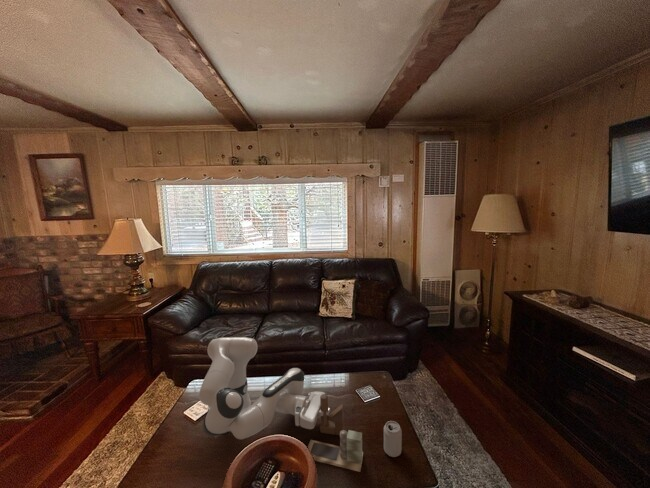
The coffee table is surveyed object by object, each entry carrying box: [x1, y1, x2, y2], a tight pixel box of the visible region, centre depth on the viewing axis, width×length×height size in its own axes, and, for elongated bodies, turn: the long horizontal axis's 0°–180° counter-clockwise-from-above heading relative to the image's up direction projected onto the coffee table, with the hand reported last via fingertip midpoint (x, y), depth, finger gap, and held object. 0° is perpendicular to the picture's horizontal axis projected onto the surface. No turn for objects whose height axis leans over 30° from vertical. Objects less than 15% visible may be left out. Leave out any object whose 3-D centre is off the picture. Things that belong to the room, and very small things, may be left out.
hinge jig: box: [307, 429, 364, 473], centre depth 113 cm, size 24×8×12 cm, turn 74°
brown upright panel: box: [319, 393, 345, 436], centre depth 125 cm, size 4×11×18 cm, turn 80°
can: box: [383, 420, 403, 458], centre depth 115 cm, size 8×8×12 cm
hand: (329, 411), depth 125 cm, fingers closed
